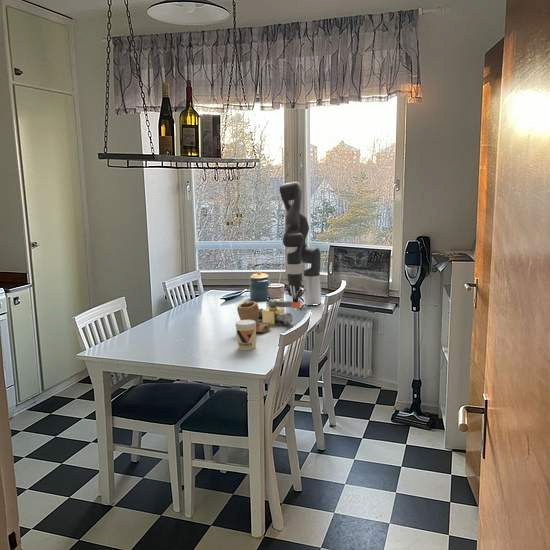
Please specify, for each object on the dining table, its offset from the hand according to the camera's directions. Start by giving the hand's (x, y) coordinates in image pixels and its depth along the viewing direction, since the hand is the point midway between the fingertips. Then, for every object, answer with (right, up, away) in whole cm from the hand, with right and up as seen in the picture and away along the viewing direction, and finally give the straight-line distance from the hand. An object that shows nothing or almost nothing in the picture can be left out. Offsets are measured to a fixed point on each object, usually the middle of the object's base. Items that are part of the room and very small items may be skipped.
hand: (295, 305), depth 297 cm
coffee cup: (-23, -18, -36) cm, 47 cm away
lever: (-6, -1, -1) cm, 6 cm away
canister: (-20, +1, +57) cm, 60 cm away
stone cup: (-21, -13, -12) cm, 28 cm away
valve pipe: (-11, -9, +3) cm, 15 cm away
